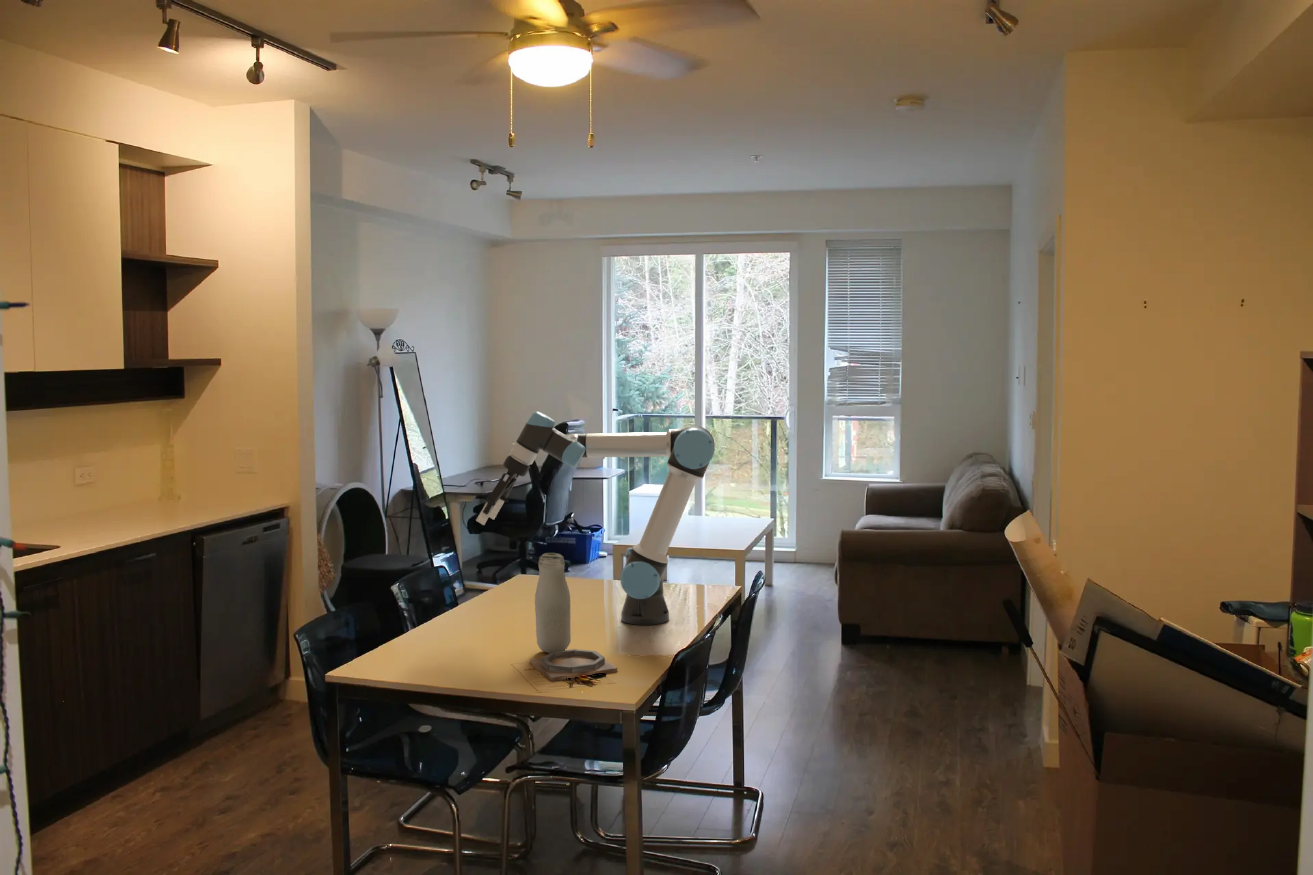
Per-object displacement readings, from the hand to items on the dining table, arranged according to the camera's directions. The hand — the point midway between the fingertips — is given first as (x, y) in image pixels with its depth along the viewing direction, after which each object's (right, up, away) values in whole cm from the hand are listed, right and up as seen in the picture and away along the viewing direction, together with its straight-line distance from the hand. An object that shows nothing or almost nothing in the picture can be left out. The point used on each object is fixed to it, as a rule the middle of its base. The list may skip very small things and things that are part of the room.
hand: (485, 520), depth 297 cm
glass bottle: (+23, -35, -23) cm, 48 cm away
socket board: (+30, -36, -37) cm, 60 cm away
